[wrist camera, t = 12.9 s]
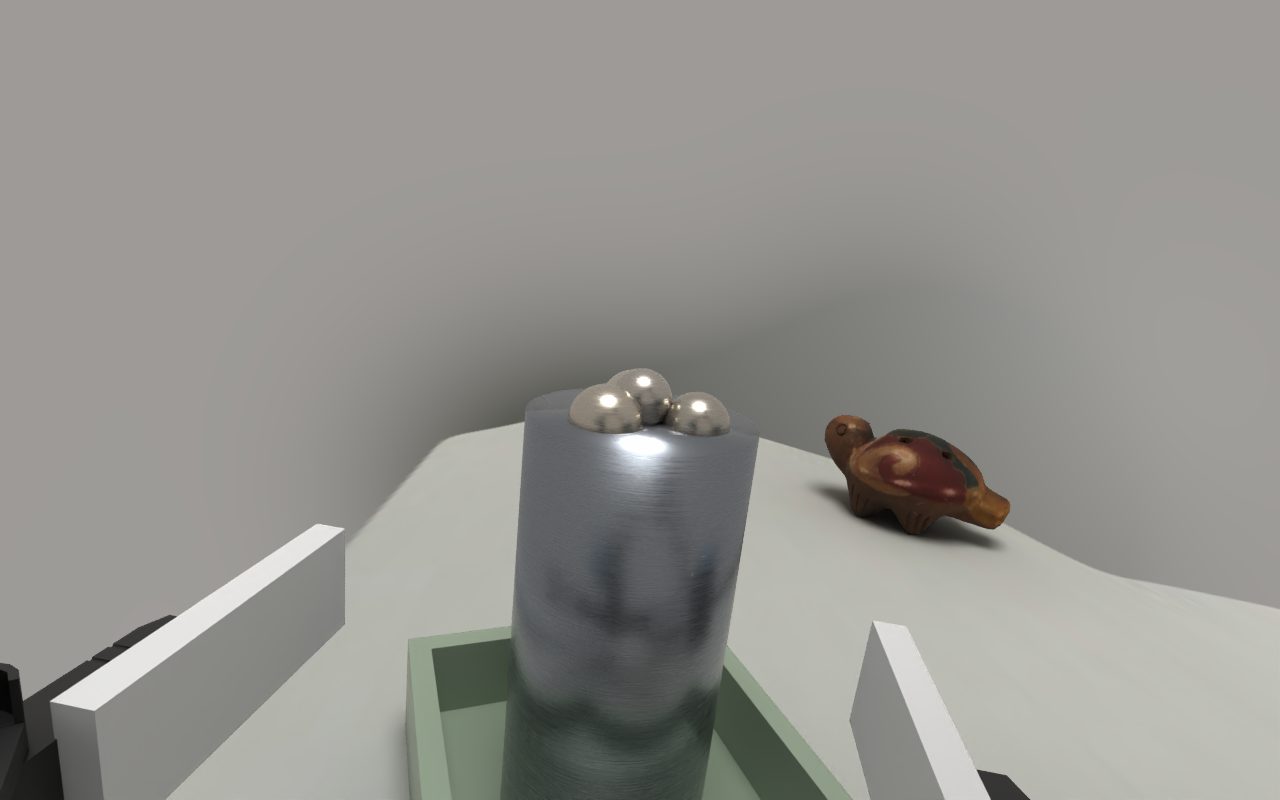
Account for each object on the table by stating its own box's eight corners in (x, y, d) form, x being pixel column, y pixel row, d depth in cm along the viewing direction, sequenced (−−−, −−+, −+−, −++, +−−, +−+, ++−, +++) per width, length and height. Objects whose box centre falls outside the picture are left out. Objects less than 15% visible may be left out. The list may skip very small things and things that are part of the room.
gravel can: (653, 709, 27) (699, 349, 23) (736, 858, 21) (817, 398, 17) (485, 742, 24) (508, 342, 21) (523, 925, 18) (565, 396, 14)
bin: (681, 676, 31) (692, 603, 30) (857, 941, 20) (884, 838, 19) (405, 724, 26) (408, 639, 25) (431, 1116, 15) (437, 988, 14)
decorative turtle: (819, 479, 62) (841, 400, 60) (990, 536, 55) (1020, 450, 53) (794, 505, 53) (819, 413, 51) (994, 576, 47) (1030, 475, 45)
